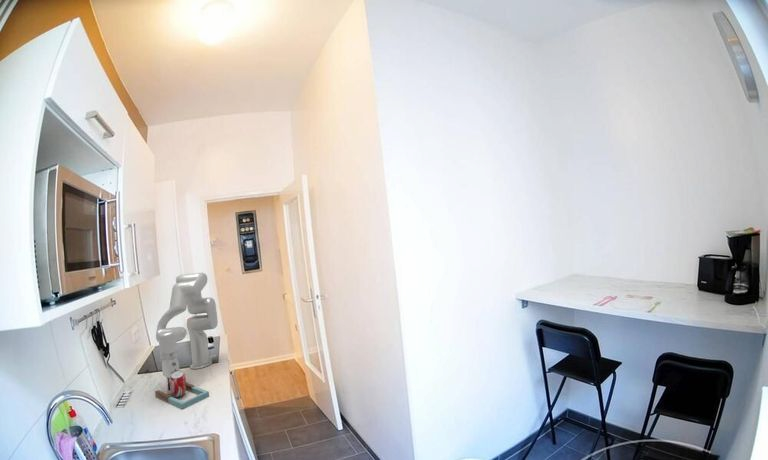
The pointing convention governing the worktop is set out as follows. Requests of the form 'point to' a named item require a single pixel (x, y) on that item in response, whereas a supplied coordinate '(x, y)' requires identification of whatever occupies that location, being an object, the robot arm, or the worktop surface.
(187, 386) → the channel
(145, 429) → the worktop surface
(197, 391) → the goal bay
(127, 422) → the worktop surface
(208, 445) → the worktop surface
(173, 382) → the soda can
